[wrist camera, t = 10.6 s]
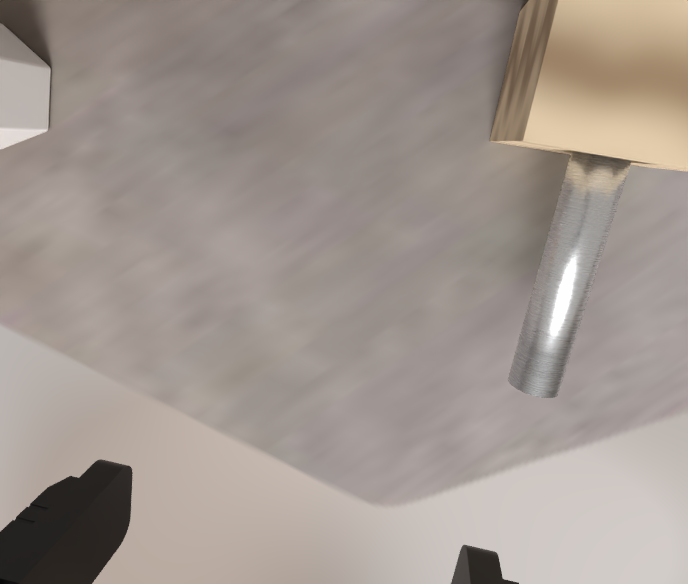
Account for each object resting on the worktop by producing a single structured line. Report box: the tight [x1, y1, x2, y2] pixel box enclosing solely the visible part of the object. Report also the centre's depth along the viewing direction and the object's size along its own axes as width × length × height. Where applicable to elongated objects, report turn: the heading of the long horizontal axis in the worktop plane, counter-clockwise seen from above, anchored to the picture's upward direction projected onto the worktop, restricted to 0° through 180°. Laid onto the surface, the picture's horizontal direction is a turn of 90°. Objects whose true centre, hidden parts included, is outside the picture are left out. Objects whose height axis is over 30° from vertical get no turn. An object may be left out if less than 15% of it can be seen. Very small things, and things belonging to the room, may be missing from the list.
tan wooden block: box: [490, 0, 688, 171], centre depth 28 cm, size 8×10×12 cm
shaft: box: [508, 151, 632, 398], centre depth 29 cm, size 19×3×3 cm, turn 171°
